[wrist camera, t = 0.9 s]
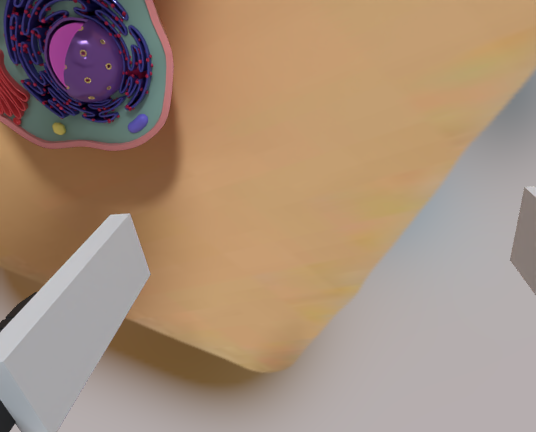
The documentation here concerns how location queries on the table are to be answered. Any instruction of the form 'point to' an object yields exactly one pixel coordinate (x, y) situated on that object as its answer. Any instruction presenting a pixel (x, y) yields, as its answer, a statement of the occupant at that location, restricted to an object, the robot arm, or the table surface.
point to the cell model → (84, 72)
